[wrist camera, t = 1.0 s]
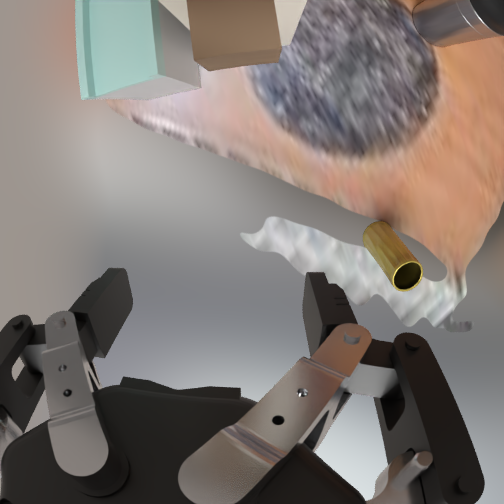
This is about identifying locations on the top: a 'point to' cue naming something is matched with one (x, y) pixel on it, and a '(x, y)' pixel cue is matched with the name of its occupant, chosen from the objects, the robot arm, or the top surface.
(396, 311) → the top surface
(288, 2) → the cream box stand
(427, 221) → the top surface
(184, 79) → the grey block
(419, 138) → the top surface
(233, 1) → the tan block
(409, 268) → the vase
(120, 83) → the teal tray
